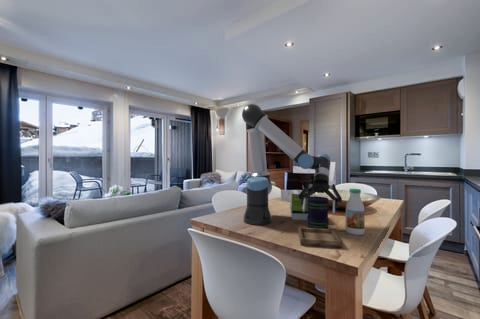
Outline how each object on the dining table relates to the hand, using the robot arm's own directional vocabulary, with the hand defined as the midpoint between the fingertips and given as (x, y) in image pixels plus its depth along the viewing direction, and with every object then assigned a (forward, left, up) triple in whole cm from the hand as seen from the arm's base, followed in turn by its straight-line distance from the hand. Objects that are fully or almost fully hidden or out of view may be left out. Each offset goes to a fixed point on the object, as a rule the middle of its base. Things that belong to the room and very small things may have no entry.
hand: (318, 212), depth 107 cm
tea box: (-7, +24, -9) cm, 26 cm away
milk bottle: (+16, 0, -9) cm, 18 cm away
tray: (-2, -13, -9) cm, 16 cm away
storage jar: (0, +2, -9) cm, 9 cm away
